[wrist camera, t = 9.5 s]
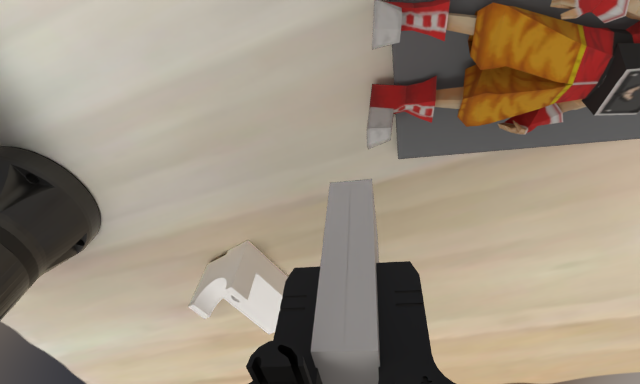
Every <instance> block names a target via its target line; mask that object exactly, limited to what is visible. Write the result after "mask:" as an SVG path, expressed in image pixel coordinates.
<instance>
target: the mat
mask: <svg viewBox="0 0 640 384" xmlns="http://www.w3.org/2000/svg"><path fill="white" fill-rule="evenodd" d="M432 1H435V0H390V2H402V3H420V2H432ZM493 2H494V3H498V4H502V5H506V6H515V7H518V8H522V9H525V10H529V11H532V12H536V13H539V14H543V15H546V16H550V17H553V18H557V19H560V20H564V21H567V22H571V23H575V24H579V25H583V26H587V27H592V28H612V29H623V30H626V29H628V28H629V27H631V26H632V25H634V24H635V23H637V22H638V21H640V20H637V19H631V18H629V17H627V16H624V17H621V18H618V19H616V20H613V21H610V22H607V23H604V22H602V21H601V20H600V19H599V18H598V17H597V16H596V15H594V14H593V13H592V12H589V13H586V14H584V15H582V16H580V17H578V18H574V19H561V16H560V15H561V14H562V13H564V12H567V11H569V10H571V9H565V8H557V7H550V5H551V2H552V0H450V6H449V13H456V14H466V15H475V12H476V11H478V10H480V9H482V8H483V7H485V6H487V5H489V4H491V3H493ZM468 38H469V34H464V33H459V32H454V31H449V30H446V35H445V41H442V40H440V39H437V38H435V37H432V36H430V35H426V34H423V33H419V32H416V31H412V30H411V31H401V35H400V42H399V43H395V44H392V52H393V71H394V85H400V86H408V85H412V84H417V83H422V82H425V81H427V80H429V79H431V78H433V77H435V76H437V80H436V90H440V89H449V88H457V87H463V85H464V77H465V69H467V68H469V67H471V66H474V65H476V63H475V62H474V61H473V59H472V58H471V57H470V52H469V46H468ZM458 111H459V109H453V108H441V107H434V113H433V119H432V123H431V122H428V121H425V120H423V119H420V118H418V117H415V116H413V115H411V114H409V113H407V112H405V111H404V112H400V113H396V127H397V146H398V159H405V158H417V157H428V156H440V155H452V154H464V153H475V152H487V151H499V150H511V149H522V148H534V147H546V146H558V145H570V144H581V143H593V142H605V141H617V140H628V139H640V111H639V112H638V113H637V114H636V115H598V116H594V115H593V114H592V113H591V111H590V110H589V109H588V108H587V107H584V108H581V109H577V110H570V111H567V112H564V113H563V122H561V123H554V124H547V125H540V126H537V127H536V128H535V129H533V130H532V131H530V132H528V133H526V134H525V135H524V134H516V133H511V132H508V131H506V130H503V129H501V128H499V126H498V124H500V123H504V122H505V121H507V120H508V119H510V118H511V117H510V118H507V119H504V120H500V121H497V122H493V123H490V124H485V125H480V126H469V127H466V126H465V125H464V124H463V123H462V121H461V120H460V119H459V118H458V117H457V116H458ZM497 123H498V124H497Z"/></svg>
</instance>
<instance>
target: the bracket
mask: <svg viewBox="0 0 640 384" xmlns="http://www.w3.org/2000/svg"><path fill="white" fill-rule="evenodd" d="M287 278H288V276H287V275H285V274H284V273H283V272H282V271H281V270H280V269H279V268H278V267H277V266H276V265H275V264H274V263H273V262H271V261H270V260H269V259H268V258H267V257H266V256H265V255H264V254H263V253H262V252H261V251H260V250H259V249H257V248H256V247H255V246H254V245H253V244H252V243H251V242H250V241H249V240H247V241H245V242H243V243H241V244H239V245H237V246H236V247H234V248H232V249H230V250H228V252H227V254H226V255H224V256H222V257H220V258H218V259H216V260H215V261H213V262H211V263H209V264H207V266H206V268H205V271H204V273H203V275H202V277H201V280H200V282H199V284H198V286H197V288H196V291H195V293H194V295H193V297H192V300H191V302H190V304H189V306H188V307H189V308H190V309H192V310H193V311H194V312H196V313H197V314H198V315H200V316H201V317H202V318H204V319H206V318H208V317H210V315H211V313H212V311H213V310H214V308H215V307H216V305H217V304H218V303H219V302H220V300H221V299H222V298H224V299H225V300H226V301H227V302H229V303H230V304H231V305H233V306H234V307H235V308H236V309H238V310H239V311H240V312H241V313H243V314H244V315H245V316H246V317H248V318H249V319H250V320H251V321H253V322H254V323H255V324H256V325H258V326H259V327H260V328H261V329H263V330H264V331H265V332H266V333H268V334H271V333H274V332H275V330H276V325H277V320H278V315H279V311H280V305H281V300H282V299H283V297H282V296H283V291H284V286H285V281H286V280H287Z"/></svg>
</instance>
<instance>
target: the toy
mask: <svg viewBox="0 0 640 384" xmlns="http://www.w3.org/2000/svg"><path fill="white" fill-rule="evenodd" d="M449 6H450V0H435V1H432V2H420V3H402V2H384V1H381V0H375V1H374V21H373V42H372V49H376V48H380V47H384V46H388V45H391V44H395V43H399V42H400V35H401V31H411V30H412V31H416V32H419V33H423V34H426V35H430V36H432V37H435V38H437V39H440V40H442V41H445V35H446V30H449V31H454V32H459V33H464V34H469V38H468V46H469V52H470V57H471V58H472V59H473V61H474V62H475V63H476V65H474V66H471V67H469V68H467V69H465V77H464V85H463V87H457V88H449V89H440V90H436V80H437V76H435V77H433V78H431V79H429V80H427V81H425V82H422V83H417V84H412V85H408V86H400V85H379V84H372V90H371V99H370V108H369V116H368V125H367V147H368V149H370V148H373V147H375V146H377V145H380V144H382V143H385V142H387V141H389V140H391V131H392V122H393V114H396V113H400V112H404V111H405V112H407V113H409V114H411V115H413V116H415V117H418V118H420V119H423V120H425V121H428V122H431V123H432V119H433V113H434V107H441V108H453V109H459V111H458V116H457V117H458V118H459V119H460V120H461V121H462V123H463V124H464V125H465V126H466V127H469V126H480V125H485V124H490V123H493V122H497V121H500V120H504V119H507V118H510V117H511V118H510V119H508V120H507V121H505V122H504V123H500V124H498V123H497V124H498V126H499V128H501V129H503V130H506V131H508V132H511V133H516V134H524V135H525V134H526V133H528V132H530V131H532V130H533V129H535V128H536V127H537V126H540V125H547V124H554V123H561V122H563V113H564V112H567V111H570V110H577V109H581V108H584V107H587V108H588V109H589V110H590V111H591V113H592V114H593V115H594V116H598V115H636V114H637V113H638V112H639V111H640V21H638V22H637V23H635V24H634V25H632V26H631V27H629V28H628V29H626V30H623V29H612V28H592V27H587V26H583V25H579V24H575V23H571V22H567V21H564V20H560V19H557V18H553V17H550V16H546V15H543V14H539V13H536V12H532V11H529V10H525V9H522V8H518V7H515V6H506V5H502V4H498V3H494V2H493V3H491V4H489V5H487V6H485V7H483V8H482V9H480V10H478V11H476V12H475V15H466V14H456V13H449ZM550 7H557V8H565V9H571V10H569V11H567V12H564V13H562V14H561V15H560V16H561V19H574V18H578V17H580V16H582V15H584V14H586V13H589V12H592V13H593V14H594V15H596V16H597V17H598V18H599V19H600V20H601V21H602V22H604V23H607V22H610V21H613V20H616V19H618V18H621V17H624V16H627V17H629V18H631V19H637V20H640V0H552V2H551V5H550Z"/></svg>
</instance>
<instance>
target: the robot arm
mask: <svg viewBox="0 0 640 384" xmlns="http://www.w3.org/2000/svg"><path fill="white" fill-rule="evenodd" d="M99 228H100V214H99V210H98V208H97V205H96V203H95V201H94V199H93V198H92V196H91V195H90V193H89V192H88V191H87V189H86V188H85V187H84V186H83V185H82V184H81V183H80V182H79V181H78V180H77V179H76V178H75V177H74V176H73V175H72V174H70V173H69V172H68V171H67V170H65V169H64V168H62V167H61V166H59V165H58V164H56V163H54V162H53V161H51V160H49V159H47V158H45V157H43V156H41V155H38V154H36V153H33V152H30V151H27V150H23V149H19V148H13V147H0V321H1V319H2V318H3V317H4V316H5V315H6V314H7V313H8V312H9V310H10V309H11V308H12V307H13V306H14V305H15V304H16V302H17V301H18V300H19V299H20V298H21V297H22V296H23V295H24V293H25V292H26V291H27V290H28V289H29V287H30V286H31V285H32V284H33V283H34V282H35V281H36V280H37V279H38V278H39V277H40V276H41V275H43V274H44V273H46V272H48V271H49V270H51V269H53V268H54V267H56V266H58V265H59V264H61V263H63V262H64V261H66V260H68V259H69V258H71V257H73V256H74V255H76V254H78V253H79V252H81V251H82V250H83V249H84V248H85V247H86V246H87V245H88V244H89V243H90V242H91V240H92V239H93V238H94V237H95V236H96V234H97V233H98V231H99ZM282 297H283V299H282V300H281V305H280V311H279V315H278V320H277V325H276V330H275V335H274V340H273V341H270V342H267V343H266V344H264V345H262V346H260V347H259V348H258V349H257V350H256V351H255V352H254V353H253V354H252V355H251V357H250V359H249V361H248V364H247V366H246V368H247V370H248V372H249V373H250V375H251V377H252V379H253V381H252V382H251V383H249V384H455V383H453V382H452V381H450V380H449V379H448V378H446V377H445V376H444V375H443V374H442V373H441V372H440V371H439V369H438V368H437V366H436V364H435V363H434V360H433V357H432V353H431V347H430V340H429V334H428V328H427V321H426V315H425V309H424V302H423V296H422V289H421V283H420V277H419V274H418V272H417V271H416V269H415V268H414V267H413V265H412V264H411V262H410V261H408V262H387V263H379V253H378V234H377V224H376V215H375V205H374V196H373V186H372V179H367V180H355V181H344V182H332V183H330V187H329V196H328V205H327V213H326V222H325V231H324V239H323V248H322V257H321V265H320V267H305V268H294V269H293V271H292V272H291V274H290V275H289V277H288V278H287V280H286V281H285V286H284V291H283V296H282Z"/></svg>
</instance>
